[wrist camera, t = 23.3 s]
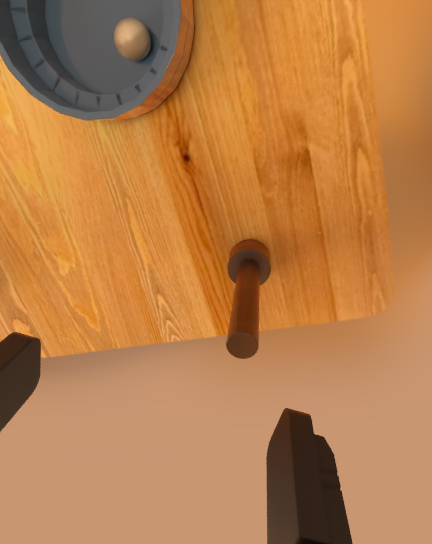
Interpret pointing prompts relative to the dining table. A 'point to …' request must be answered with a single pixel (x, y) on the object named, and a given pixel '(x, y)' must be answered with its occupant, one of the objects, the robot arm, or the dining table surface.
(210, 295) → the dining table surface
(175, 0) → the bowl
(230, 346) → the masher
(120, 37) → the bead
